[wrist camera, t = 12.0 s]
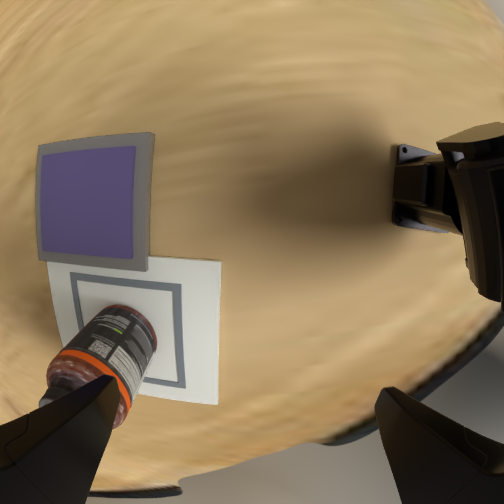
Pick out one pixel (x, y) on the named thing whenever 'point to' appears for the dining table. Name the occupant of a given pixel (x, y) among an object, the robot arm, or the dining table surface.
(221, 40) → the dining table surface
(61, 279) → the form board
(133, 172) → the ink pad
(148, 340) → the supplement bottle
